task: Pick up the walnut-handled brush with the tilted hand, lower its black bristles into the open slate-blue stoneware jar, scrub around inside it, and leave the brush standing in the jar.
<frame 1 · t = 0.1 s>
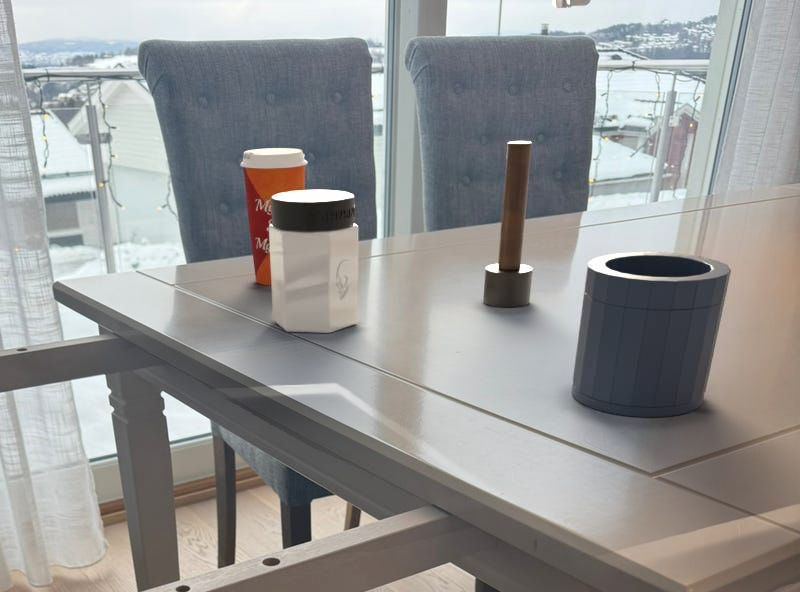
hand: (570, 7, 82), 27 cm above the table, tool pointing down, fingers open, 8 cm apart
stoneware jar: (636, 395, 75), on the table
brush: (506, 301, 102), on the table
jar: (315, 324, 96), on the table
paper cup: (279, 282, 113), on the table
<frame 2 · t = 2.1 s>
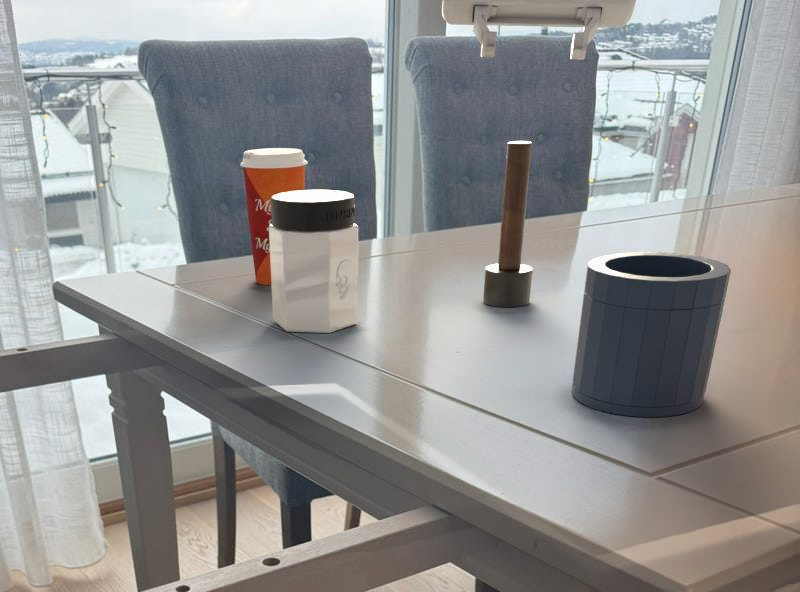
hand: (533, 54, 98), 23 cm above the table, tool tilted 40°, fingers open, 8 cm apart
nothing on the table moved.
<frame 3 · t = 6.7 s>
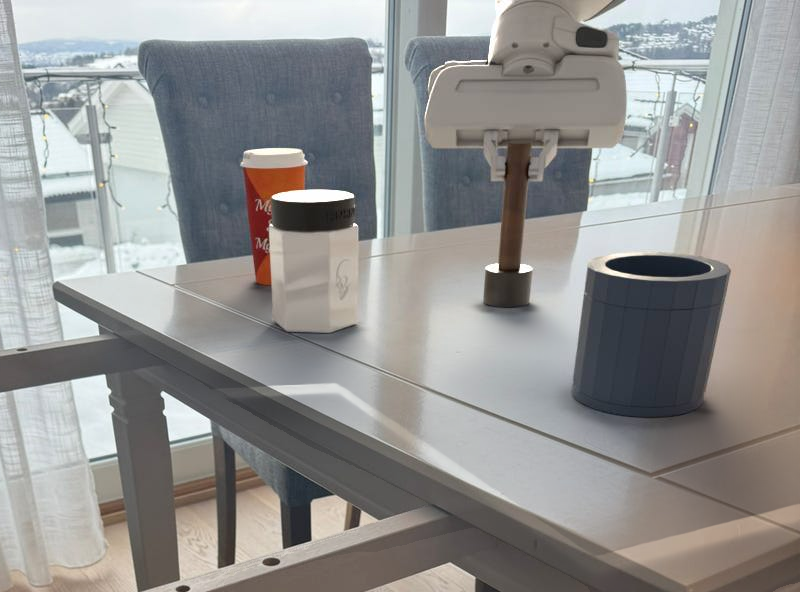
hand: (516, 177, 95), 12 cm above the table, tool tilted 45°, fingers closed on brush, 2 cm apart
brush: (506, 301, 102), on the table, touching gripper
everything else where it was.
when the fingers open (13 cm above the table, at t = 21.3 s): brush stays where it is, resting on stoneware jar.
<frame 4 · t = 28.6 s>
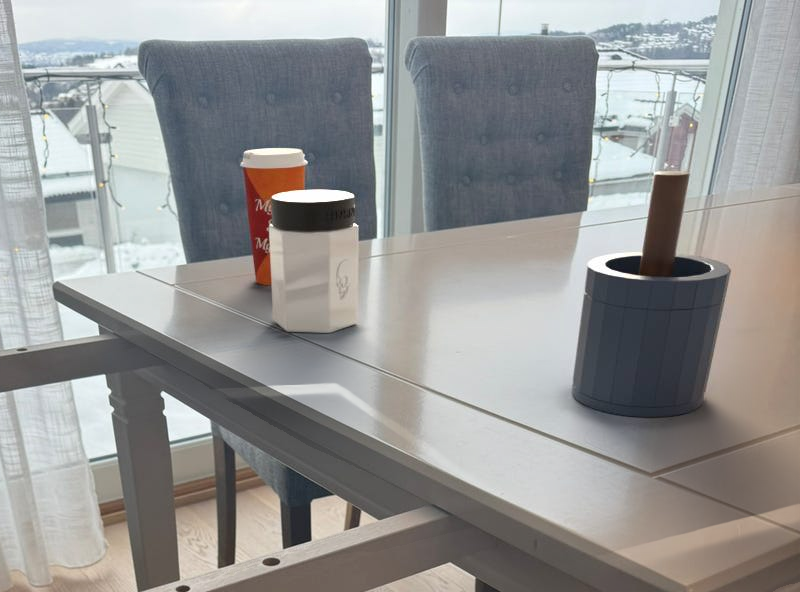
stoneware jar: (636, 395, 75), on the table, touching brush
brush: (636, 386, 75), point 1 cm above the table, touching stoneware jar
everything else where it was.
at the end: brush 0.1 cm off-centre in the stoneware jar, point 0.8 cm above the stoneware jar's base; stoneware jar tilted 0°; the gripper is holding nothing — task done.
